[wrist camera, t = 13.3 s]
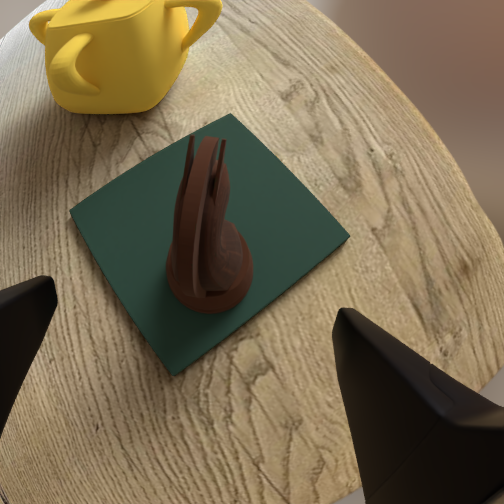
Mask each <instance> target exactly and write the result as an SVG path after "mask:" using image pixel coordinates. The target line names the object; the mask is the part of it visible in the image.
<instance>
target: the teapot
mask: <svg viewBox="0 0 504 504" xmlns="http://www.w3.org/2000/svg"><path fill="white" fill-rule="evenodd" d="M185 7H194V8H197V9H198V11H199V12H198V16H197V19H196V21H195V22H194V24H193V26H192V28H191V29H190V30H189V25H188V19H187V14H186V11H185ZM221 10H222V2H221V0H69V1H68V2H67V3H66V4H65V5H64V6H63V7H62V8H60V9H51V10H46V11H43V12H40V13H38V14H36V15H35V16H33V17H32V19H31V20H30V22H29V29H30V31H31V32H32V34H33V35H34V36H35V37H36V38H37V39H38V40H39V41H40V42H41V43H42V44H43V45H45V67H46V75H47V79H48V84H49V87H50V90H51V93H52V95H53V98H54V100H55V101H56V103H57V104H58V105H60V106H61V107H63V108H64V109H66V110H68V111H70V112H73V113H82V114H121V113H137V112H143V111H147V110H149V109H151V108H153V107H154V106H155V105H157V104H158V103H159V102H160V101H161V100H162V98H163V97H164V96H165V95H166V93H167V92H168V91H169V89H170V88H171V86H172V85H173V83H174V82H175V80H176V79H177V77H178V75H179V73H180V72H181V70H182V68H183V65H184V63H185V61H186V58H187V55H188V51H189V47H190V46H191V45H192V44H193V43H195V42H196V41H197V40H198V39H199V38H200V37H201V36H202V35H203V34H204V33H206V32H207V31H208V30H209V29H210V28H211V27H212V25H213V24H214V23H215V22H216V20H217V19H218V17H219V15H220V13H221ZM48 21H50V22H49V24H48Z"/></svg>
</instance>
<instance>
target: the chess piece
mask: <svg viewBox="0 0 504 504" xmlns="http://www.w3.org/2000/svg"><path fill="white" fill-rule="evenodd" d="M226 140H227V139H223V138H222V141H221V146H220V152H219V158H218V160H216V156H217V150H218V142H219V138H217V137H210V136H205V137H204V138H203V140H202V142H201V143H200V146H199V148H198V150H197V153H196V155H195V158H194V143H195V135H190V137H189V143H188V149H187V155H186V161H185V167H184V174H183V177H182V180H181V183H180V185H179V189H178V194H177V198H176V203H175V209H174V220H173V241H172V243H171V245H170V248H169V252H168V256H167V260H166V274H167V280H168V283H169V286H170V288H171V290H172V292H173V294H174V295H175V297H176V298H177V299H178V300H179V301H180V302H181V303H182V304H183V305H185V306H186V307H187V308H189V309H191V310H194V311H196V312H200V313H206V314H215V313H221V312H224V311H227V310H229V309H231V308H233V307H234V306H236V305H237V304H238V303H239V302H241V300H242V299H243V298H244V297H245V296H246V294H247V292H248V290H249V288H250V286H251V283H252V279H253V260H252V255H251V252H250V250H249V248H248V246H247V243H246V241H245V239H244V238H243V236H242V235H241V234H240V233H239V232H238V231H237V229H236V227H235V225H234V224H233V223H232V222H229V221H227V220H225V219H224V218H225V213H226V209H227V205H228V202H229V195H230V181H229V174H228V170H227V166H226V164H225V163H224V156H225V148H226Z"/></svg>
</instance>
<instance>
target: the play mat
mask: <svg viewBox="0 0 504 504" xmlns="http://www.w3.org/2000/svg"><path fill="white" fill-rule="evenodd" d="M190 135H195V143H194V158H195V155H196V153H197V150H198V148H199V146H200V143H201V142H202V140H203V138H204V137H205V136H210V137H217V138H219V142H218V150H217V156H216V160H218V158H219V152H220V146H221V141H222V138H223V139H227V140H226V148H225V156H224V163H225V164H226V166H227V170H228V174H229V181H230V195H229V202H228V205H227V209H226V213H225V218H224V219H225V220H227V221H229V222H232V223H233V224H234V225H235V227H236V229H237V231H238V232H239V233H240V234H241V235H242V236H243V238H244V239H245V241H246V243H247V246H248V248H249V250H250V252H251V255H252V260H253V279H252V283H251V286H250V288H249V290H248V292H247V294H246V296H245V297H244V298H243V299H242V300H241V302H239V303H238V304H237V305H236V306H234V307H233V308H231V309H229V310H227V311H224V312H221V313H215V314H206V313H200V312H196V311H194V310H191V309H189V308H187V307H186V306H185V305H183V304H182V303H181V302H180V301H179V300H178V299H177V298H176V297H175V295H174V294H173V292H172V290H171V288H170V286H169V283H168V280H167V274H166V260H167V256H168V252H169V248H170V245H171V243H172V241H173V220H174V209H175V203H176V198H177V194H178V189H179V185H180V183H181V180H182V177H183V174H184V167H185V161H186V155H187V149H188V143H189V137H190ZM69 212H70V214H71V216H72V218H73V220H74V221H75V223H76V225H77V227H78V229H79V231H80V233H81V235H82V237H83V238H84V240H85V242H86V244H87V246H88V248H89V249H90V251H91V253H92V255H93V257H94V258H95V260H96V262H97V264H98V265H99V267H100V269H101V270H102V272H103V274H104V275H105V277H106V279H107V280H108V282H109V284H110V285H111V287H112V289H113V290H114V292H115V293H116V295H117V297H118V298H119V300H120V301H121V303H122V305H123V306H124V308H125V309H126V311H127V312H128V314H129V315H130V317H131V318H132V320H133V321H134V323H135V324H136V326H137V327H138V329H139V330H140V332H141V333H142V335H143V336H144V337H145V339H146V340H147V342H148V343H149V345H150V346H151V347H152V349H153V350H154V352H155V353H156V354H157V356H158V357H159V358H160V360H161V361H162V363H163V364H164V365H165V367H166V368H167V369H168V371H169V372H170V373H171V375H172V376H175V375H177V374H178V373H180V372H181V371H182V370H184V369H185V368H186V367H188V366H189V365H190V364H192V363H193V362H194V361H196V360H197V359H199V358H200V357H201V356H203V355H204V354H205V353H207V352H208V351H209V350H211V349H212V348H213V347H215V346H216V345H217V344H219V343H220V342H221V341H222V340H224V339H225V338H226V337H228V336H229V335H230V334H232V333H233V332H234V331H236V330H237V329H238V328H239V327H241V326H242V325H243V324H245V323H246V322H247V321H248V320H250V319H251V318H252V317H254V316H255V315H256V314H257V313H259V312H260V311H261V310H262V309H264V308H265V307H266V306H267V305H269V304H270V303H271V302H272V301H274V300H275V299H276V298H277V297H279V296H280V295H281V294H282V293H284V292H285V291H286V290H287V289H289V288H290V287H291V286H292V285H294V284H295V283H296V282H297V281H298V280H300V279H301V278H302V277H303V276H305V275H306V274H307V273H308V272H309V271H311V270H312V269H313V268H314V267H315V266H317V265H318V264H319V263H320V262H321V261H323V260H324V259H325V258H326V257H327V256H329V255H330V254H331V253H332V252H333V251H334V250H336V249H337V248H338V247H339V246H340V245H342V244H343V243H344V242H345V241H346V240H347V239H348V238H349V237H350V235H349V234H348V232H347V231H346V230H345V229H344V228H343V227H342V226H341V225H340V223H339V222H338V221H337V220H336V219H335V218H334V217H333V216H332V215H331V214H330V212H329V211H328V210H327V209H326V208H325V207H324V206H323V205H322V204H321V203H320V202H319V201H318V199H317V198H316V197H315V196H314V195H313V194H312V193H311V192H310V191H309V190H308V189H307V188H306V187H305V186H304V185H303V184H302V183H301V182H300V180H299V179H298V178H297V177H296V176H295V175H294V174H293V173H292V172H291V171H290V170H289V169H288V168H287V167H286V166H285V165H284V164H283V163H282V162H281V161H280V160H279V159H278V158H277V157H276V156H275V155H274V154H273V153H272V152H271V151H270V150H269V149H268V148H267V147H266V146H265V145H264V144H263V143H262V142H261V141H260V140H259V139H258V138H257V137H256V136H255V135H253V134H252V133H251V132H250V131H249V130H248V129H247V128H246V127H245V126H244V125H243V124H242V123H241V122H240V121H239V120H238V119H237V118H235V117H234V116H233V115H232V114H231V113H230V114H228V115H226V116H224V117H222V118H220V119H218V120H216V121H214V122H212V123H210V124H208V125H206V126H204V127H202V128H200V129H199V130H197V131H195V132H193V133H191V134H189V135H187V136H186V137H184V138H182V139H180V140H178V141H177V142H175V143H173V144H171V145H169V146H168V147H166V148H164V149H162V150H161V151H159V152H157V153H156V154H154V155H152V156H151V157H149V158H147V159H146V160H144V161H142V162H141V163H139V164H137V165H136V166H134V167H133V168H131V169H129V170H128V171H126V172H125V173H123V174H121V175H120V176H118V177H117V178H115V179H114V180H112V181H111V182H109V183H108V184H106V185H105V186H103V187H102V188H100V189H99V190H97V191H96V192H94V193H93V194H91V195H90V196H89V197H87V198H86V199H84V200H83V201H81V202H80V203H79V204H77V205H76V206H75V207H73V208H72V209H70V210H69Z"/></svg>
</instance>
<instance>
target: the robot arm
mask: <svg viewBox="0 0 504 504" xmlns="http://www.w3.org/2000/svg"><path fill="white" fill-rule="evenodd" d="M57 303H58V299H57V294H56V289H55V283H54V280H53V278H52V277H50V276H44V275H41V276H38V277H35V278H32V279H30V280H27V281H24V282H22V283H19V284H16V285H14V286H11V287H8V288H6V289H3V290H1V291H0V438H1V435H2V432H3V429H4V427H5V424H6V422H7V419H8V416H9V414H10V411H11V409H12V407H13V404H14V402H15V399H16V397H17V395H18V392H19V390H20V388H21V386H22V383H23V381H24V379H25V377H26V375H27V372H28V370H29V368H30V366H31V364H32V362H33V360H34V358H35V356H36V354H37V352H38V350H39V348H40V346H41V343H42V341H43V339H44V336H45V334H46V331H47V329H48V326H49V324H50V321H51V319H52V317H53V314H54V312H55V309H56V307H57ZM332 340H333V347H334V355H335V363H336V371H337V377H338V382H339V386H340V390H341V394H342V398H343V402H344V406H345V410H346V415H347V419H348V423H349V427H350V432H351V436H352V440H353V445H354V449H355V454H356V458H357V463H358V468H359V472H360V477H361V482H362V487H363V492H364V496H365V500H366V501H365V503H366V504H504V407H501V406H499V405H497V404H495V403H493V402H491V401H489V400H488V399H486V398H485V397H483V396H481V395H480V394H478V393H476V392H475V391H473V390H471V389H470V388H468V387H466V386H465V385H463V384H462V383H460V382H458V381H457V380H455V379H454V378H452V377H451V376H449V375H448V374H446V373H445V372H443V371H442V370H440V369H439V368H437V367H436V366H435V365H433V364H430V362H429V361H427V360H426V359H425V358H423V357H422V356H420V355H419V354H418V353H416V352H415V351H413V350H412V349H410V348H409V347H408V346H406V345H405V344H403V343H402V342H401V341H399V340H398V339H396V338H395V337H393V336H392V335H391V334H389V333H388V332H386V331H385V330H383V329H382V328H381V327H379V326H378V325H376V324H375V323H373V322H372V321H371V320H369V319H368V318H366V317H365V316H363V315H362V314H361V313H359V312H358V311H356V310H355V309H353V308H340V309H339V311H338V313H337V317H336V320H335V323H334V327H333V330H332Z"/></svg>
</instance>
